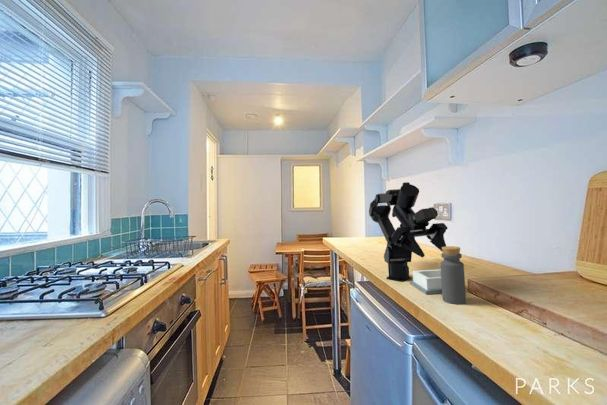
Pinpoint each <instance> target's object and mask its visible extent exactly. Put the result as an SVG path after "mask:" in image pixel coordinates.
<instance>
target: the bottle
mask: <svg viewBox="0 0 607 405" xmlns="http://www.w3.org/2000/svg"><path fill="white" fill-rule="evenodd" d="M442 251H443V252H442ZM442 251H441V252H442V253H441V254H440V256H441V258H443V260H442V261H441V262H440V269H441V281H442V293H441V294H442V301H443V302H445V303H447V304H452V305H463V304H465V303H467V295H466V280H465V279H466V278H465V265H464V263H463V262H462V261H461V260H460V259H462V258H463V256H462V253H461V247H459V246H450V245H449V246H448V245H446V247H442Z"/></svg>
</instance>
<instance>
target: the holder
mask: <svg viewBox="0 0 607 405" xmlns="http://www.w3.org/2000/svg"><path fill="white" fill-rule="evenodd" d="M409 284H410V285H411V286H413V287H414V288H416V289H417V290H418V291H421V293H423V294H425V295H437V294H442V281H441V268H440V269H424V270H413V271H412V280H409Z"/></svg>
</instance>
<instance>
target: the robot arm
mask: <svg viewBox="0 0 607 405" xmlns="http://www.w3.org/2000/svg"><path fill="white" fill-rule="evenodd" d="M419 193H420V189H419V188H418V187H417V186H416V185H413V184H410V182H406V181H405V182H402V185H401V187H400V188H396V189H394V188H393V189H388V190H386V191H385V193H383V192H382V193H377V194H375V197H374V199H373V200H372V201H371V202H370V203H369V209H368V214H369V217H370V218H371V220H372V221H373V222H375V223H377V224H378V226H379V227H380V230H381V232H382V234H383V237H384V238H385V241H386V248H385V250H384V254H383V260H384V262H385V263H387V268H388V269H387V270H388V276H387V277H386V279H387V280H392V281H398V282H404V281H407V280H408V279H410V278H411V276H410V268H409V265H408V263H411V262H412V257H413V256H412V255H413V254H415V255H417V256H419V258H424V257H425V253H424V251H423V249H422V248H421V246H420V244H418V242H417V240H416V239H415V238H418V237H419V238H420V237H426V238H427V239H428V240H429V242H430V243H431V244H432V245H434V247H436V248H437V249H439V250H440V251H441V252H442V253H443V251H442V247H446V246H447V244H446V242H445V236H444V234H445V233H446V231H447V230H448V228H449V227H448V226H447V225H446V224H445V223H444V222H438V223H437V222H436V223H432V224H431V225H430V227H428V226H429V224H430V222H431V221H432V220H435V219H437V217H438V216H439V213H438V210H437V209H436V208H435V207H433V206H432V207H427V208H421V209H419V210H418V211H416V212H415V211H414V209H413V207H415V205H416V202H417V199H418V197H419ZM379 204H380V205H379ZM381 204H383V205H381ZM385 204H386V205H385ZM391 206H393V208H392V207H391ZM391 210H392V213H391ZM390 214H391V216H392V218H396V219H397V220H398V222H400V225H399V226H398V227H397V228H396V229H395V227H394V225H393V223H392V221H391V219H390ZM427 227H428V228H427Z"/></svg>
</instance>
